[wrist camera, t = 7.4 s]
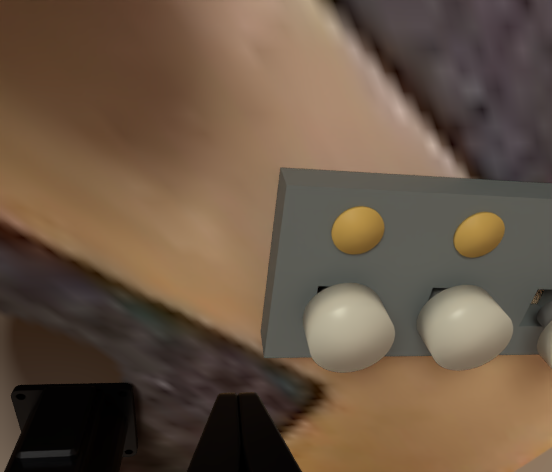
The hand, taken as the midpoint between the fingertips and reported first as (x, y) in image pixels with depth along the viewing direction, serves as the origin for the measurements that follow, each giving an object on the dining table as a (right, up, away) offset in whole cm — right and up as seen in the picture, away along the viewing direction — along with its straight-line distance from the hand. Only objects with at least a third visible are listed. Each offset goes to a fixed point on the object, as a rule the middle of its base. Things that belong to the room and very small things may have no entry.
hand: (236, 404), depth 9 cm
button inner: (+4, +1, +13) cm, 14 cm away
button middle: (+10, 0, +14) cm, 17 cm away
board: (+10, +2, +14) cm, 17 cm away
